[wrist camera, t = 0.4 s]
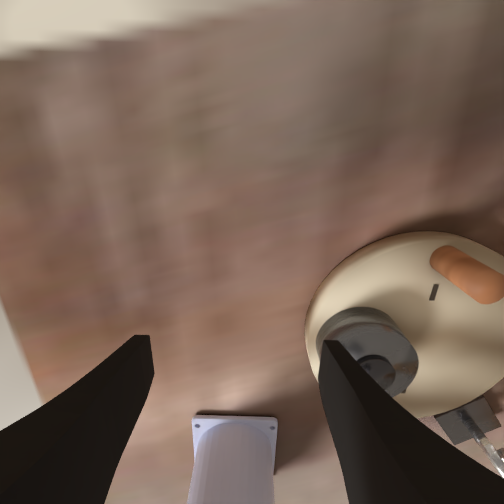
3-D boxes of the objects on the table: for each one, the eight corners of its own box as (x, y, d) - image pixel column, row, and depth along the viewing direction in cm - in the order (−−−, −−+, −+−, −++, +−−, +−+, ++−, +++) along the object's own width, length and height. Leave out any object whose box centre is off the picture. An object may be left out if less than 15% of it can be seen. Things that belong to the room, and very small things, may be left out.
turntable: (472, 401, 26) (531, 474, 20) (296, 396, 26) (307, 468, 20) (546, 234, 20) (659, 273, 14) (315, 227, 20) (339, 263, 14)
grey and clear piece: (493, 416, 27) (566, 502, 20) (447, 434, 28) (504, 522, 22) (471, 379, 25) (543, 461, 19) (423, 400, 26) (477, 485, 20)
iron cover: (388, 373, 22) (410, 413, 19) (311, 371, 22) (320, 410, 19) (406, 307, 20) (435, 340, 17) (320, 305, 20) (333, 337, 17)
